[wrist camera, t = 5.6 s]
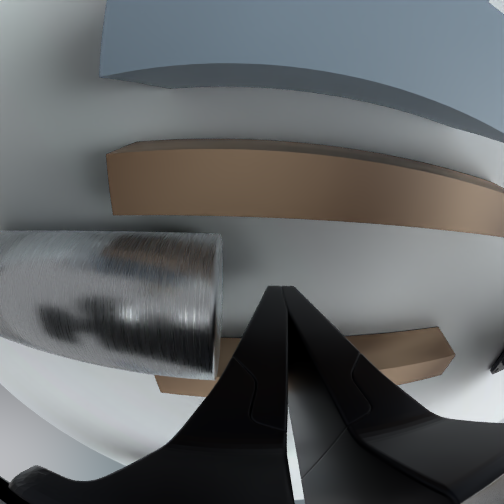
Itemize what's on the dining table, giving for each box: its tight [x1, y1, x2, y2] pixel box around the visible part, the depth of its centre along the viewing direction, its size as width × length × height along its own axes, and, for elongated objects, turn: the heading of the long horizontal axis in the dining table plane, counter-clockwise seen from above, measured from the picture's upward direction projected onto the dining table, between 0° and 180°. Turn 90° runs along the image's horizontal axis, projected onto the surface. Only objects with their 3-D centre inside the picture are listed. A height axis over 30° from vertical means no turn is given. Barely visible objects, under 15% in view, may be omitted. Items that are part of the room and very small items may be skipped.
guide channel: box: [106, 139, 504, 397], centre depth 9 cm, size 13×9×2 cm
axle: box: [0, 231, 223, 380], centre depth 7 cm, size 10×4×4 cm, turn 87°
